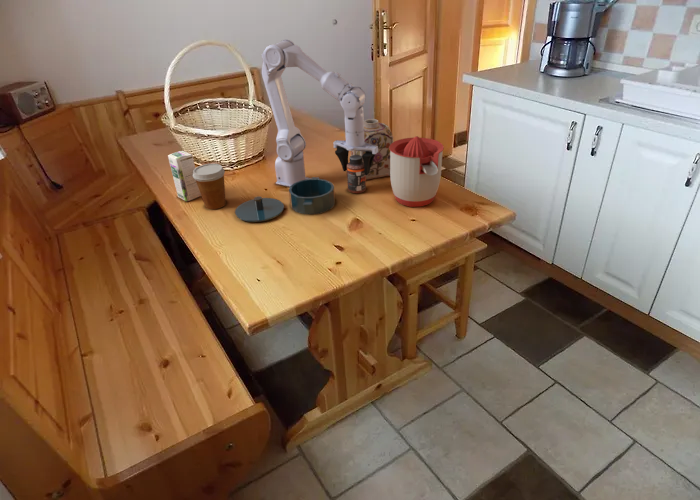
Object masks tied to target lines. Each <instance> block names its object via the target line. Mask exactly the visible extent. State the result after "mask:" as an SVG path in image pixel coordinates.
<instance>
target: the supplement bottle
mask: <svg viewBox="0 0 700 500" xmlns="http://www.w3.org/2000/svg"><path fill="white" fill-rule="evenodd" d="M346 181H347V182H346V183H347V191H348V192H349V193H352V194H361V193H364V192H365V191H366V189H367V180H366V175H365V173H364V162H362V156H360V155H352V156H351V155H350V156H349V159H348V164H347V170H346Z"/></svg>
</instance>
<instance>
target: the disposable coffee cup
mask: <svg viewBox="0 0 700 500" xmlns="http://www.w3.org/2000/svg"><path fill="white" fill-rule="evenodd" d="M225 172H226V171H225V169H224V167H223V166H222V165H221V164H219V163H205V164H201V165H199V166H195V169H194V170H193V175H192V176H193V178H194V179H195V180H196V183H197V186H198V188H199V191H200V193H201V196H200V197H201V198H202V201H203V204H204V206H205V208H206V209H207V210H217V209H221V208H223V207H225V206H226V204H227V202H226V184H225Z"/></svg>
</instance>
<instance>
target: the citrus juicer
mask: <svg viewBox="0 0 700 500" xmlns="http://www.w3.org/2000/svg"><path fill="white" fill-rule="evenodd" d="M389 149H390V175H389V176H390V186H391V190H392V193H393V196H394V198H395V200H396V202H398V204H401V205H403V206H405V207H409V208H413V207H423V206H424V207H425V206H427V205H430V204H431V203H432V202H433V201H434V200H435V198H436V196H437V193H438V190H439V187H440V183H441V177H442V166H443V165H442V164H443V152H444V151H443V150H444V149H445V147H444V145H443V143H442V142H440V141H438V140H436V139H432V138H429V137H427V138H426V137H420V136H418V135H417V136H416V135H415V136H413V137H405V138H400V139H397V140H395V141H393V143H392V144H391V145H390V147H389Z"/></svg>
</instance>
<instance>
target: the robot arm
mask: <svg viewBox="0 0 700 500" xmlns="http://www.w3.org/2000/svg"><path fill="white" fill-rule="evenodd" d="M260 56H261V59H262V65H261V77H262V81H263V83H264V84H263V85H264V87H265V90H266V94H267V98H268V100H269V104H270V107H271V111H272V114H273V118H274V121H275V124H276V128H277V134H276V139H275V142H276V155H277V157H276V159H275V161H274V170H275V176H276V182H275V185H279V186H284V187H289V188H290V186H291V185H293V184H294V183H296V182H298V181H301V180H306V179H312V177H308V176H306V167H305V157H304V150H305V149H306V147H307V142H306V139H305V138H304V136H303V134H302V133H301V130H300V128H298V127H297V126H296V125H295V122H294V119H293V115H292V111H291V107H290V104H289V100H288V97H287V93H286V89H285V86H284V82H283V78H282V75H283V73H284V71H285V70H286V69H287V68H299V69H300V70H302V72H304V73H306V74H308V75H309V76H310V77H312V78H313V79H315V80H316V81H318V82H319V83H320V86H321V89H322V90H323V91H324V92H326V93H327V94H328V95H330V96H331V97H333V98H334V99H335V100H337V101H338V102H339V103H340V106H341V108H342V110H343V111H344V112H343V113H344V134H345V136H344V137H345V140H337V139H336V140H334V141H333V144H332V145H333V149H336V150H334V153H335V154H334V155H335V156H336V157H337V159H338V160H339V163H340V165H341V168H342V170H343V172H347V164H348V163H349V154H350V152H351V151H353V150H356V151H362V152H366V153H365V154H363V155H362V158H363V162H364V173H365V175H368V174H369V173H370V168H371V164H372V161H373V159H374V157H375V155H376V153H378V146H374V145H371V144H368V143H365V142H364V121H365V115H364V114H365V113H364V104H365V102H366V99H367V95H366V92H365V90H363V88H362V87H361V86H358V85H354V84H353V83H349V82H348V81H347V80H345V79H344V78H342V77H341V74H340V73H339V72H338V71H336V72H335V71H327V70H325V69H324V68H323V67H322V66H321V65H320V64H318V63H317V62H316V61H315V60H314V59H312V58H311V57H310V56H309V55H307V53H305V52H304V51H303V49H301V47H300V45H298V44H295V43H294V42H293V41H292V40H291V39H282V40H281V41H279V42H275V43H273V44H269V45H266V47H265V49H264V50H263V52H262V53H261V55H260Z"/></svg>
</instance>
